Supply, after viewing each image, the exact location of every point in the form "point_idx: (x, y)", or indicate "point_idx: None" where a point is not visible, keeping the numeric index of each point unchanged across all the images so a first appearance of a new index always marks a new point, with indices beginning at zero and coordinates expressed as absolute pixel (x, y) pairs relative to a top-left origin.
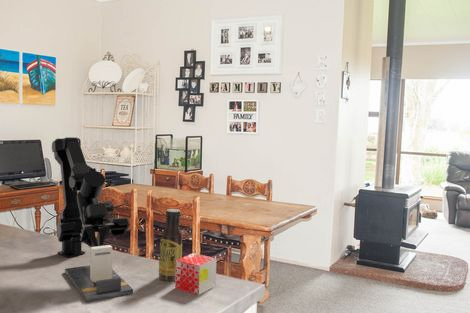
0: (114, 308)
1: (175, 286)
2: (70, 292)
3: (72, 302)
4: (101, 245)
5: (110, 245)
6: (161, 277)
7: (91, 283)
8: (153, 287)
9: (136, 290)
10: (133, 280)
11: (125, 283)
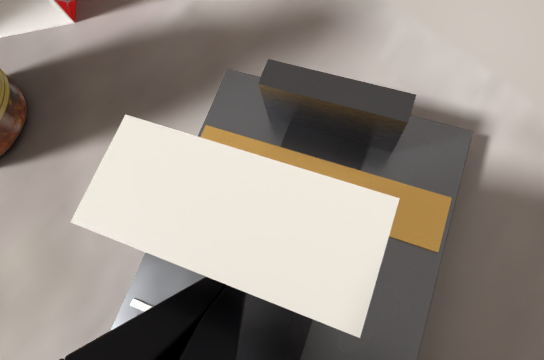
0: (396, 7)
1: (70, 16)
2: (468, 327)
3: (526, 184)
4: (134, 341)
5: (86, 191)
6: (18, 117)
7: None
8: (120, 83)
9: (194, 103)
10: None
11: None
